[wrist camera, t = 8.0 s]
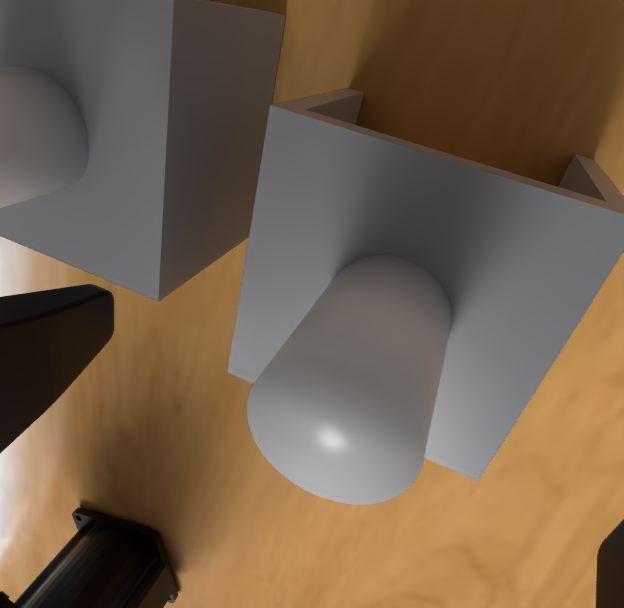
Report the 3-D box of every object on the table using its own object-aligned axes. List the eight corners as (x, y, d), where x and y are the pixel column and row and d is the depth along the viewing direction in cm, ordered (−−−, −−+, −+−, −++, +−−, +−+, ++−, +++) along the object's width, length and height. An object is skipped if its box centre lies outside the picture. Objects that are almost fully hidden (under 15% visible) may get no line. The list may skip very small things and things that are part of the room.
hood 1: (91, 176, 19) (-217, 268, 11) (84, -39, 15) (-392, -141, 7) (250, 235, 17) (34, 389, 9) (285, 15, 14) (-20, -37, 6)
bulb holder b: (300, 289, 18) (131, 482, 10) (348, 87, 14) (139, 134, 6) (486, 361, 16) (467, 652, 8) (593, 159, 13) (740, 339, 5)
